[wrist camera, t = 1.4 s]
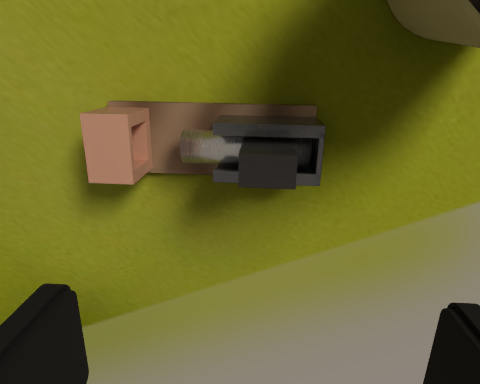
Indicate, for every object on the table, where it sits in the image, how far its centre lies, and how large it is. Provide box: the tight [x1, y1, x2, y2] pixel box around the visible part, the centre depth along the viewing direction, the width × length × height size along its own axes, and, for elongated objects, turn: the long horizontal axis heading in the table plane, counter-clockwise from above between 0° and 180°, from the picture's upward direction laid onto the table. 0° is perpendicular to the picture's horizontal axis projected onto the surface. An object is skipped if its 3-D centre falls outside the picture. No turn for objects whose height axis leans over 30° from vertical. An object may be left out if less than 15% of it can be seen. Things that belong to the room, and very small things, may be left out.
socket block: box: [80, 107, 153, 185], centre depth 32 cm, size 4×6×6 cm, turn 179°
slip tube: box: [180, 129, 312, 189], centre depth 28 cm, size 11×3×9 cm, turn 89°
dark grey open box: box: [213, 115, 325, 186], centre depth 31 cm, size 9×5×6 cm, turn 89°
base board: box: [108, 101, 317, 175], centre depth 35 cm, size 20×7×1 cm, turn 89°
